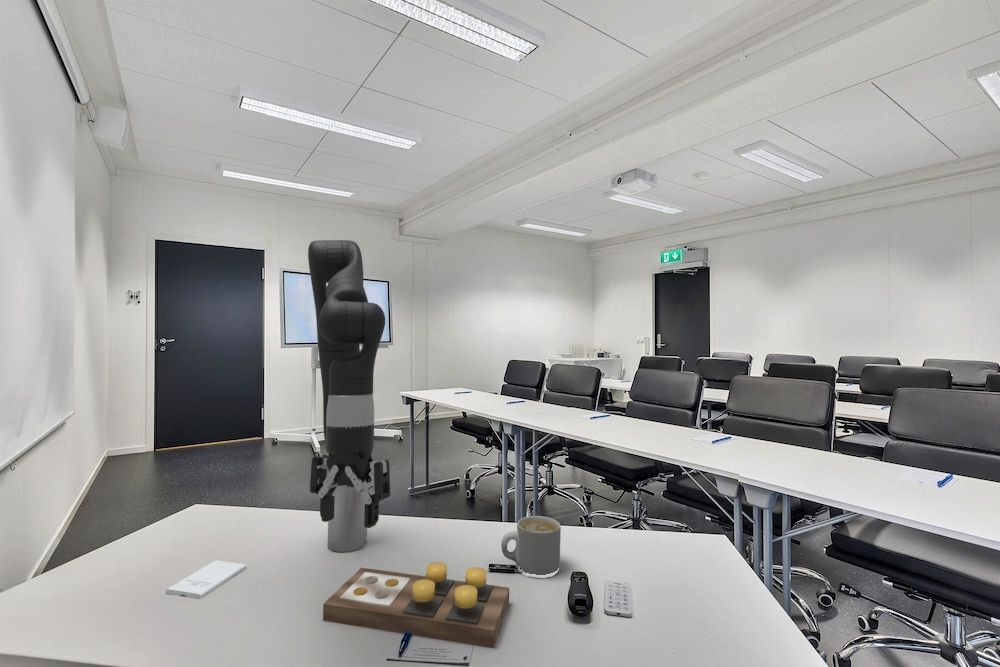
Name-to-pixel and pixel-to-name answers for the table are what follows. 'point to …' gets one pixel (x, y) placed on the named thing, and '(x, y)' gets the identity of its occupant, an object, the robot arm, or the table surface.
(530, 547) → the coffee mug
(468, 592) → the button
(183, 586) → the external hard drive
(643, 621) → the table surface
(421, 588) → the button
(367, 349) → the robot arm
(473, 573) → the button
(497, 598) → the button board
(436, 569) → the button
